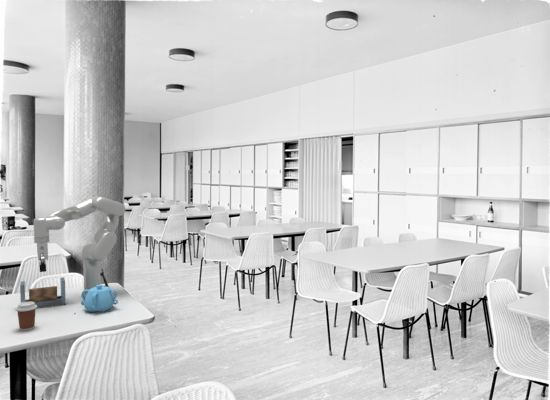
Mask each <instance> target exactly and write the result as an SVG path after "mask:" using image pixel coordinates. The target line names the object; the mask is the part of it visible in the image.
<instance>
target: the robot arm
mask: <svg viewBox="0 0 550 400" xmlns="http://www.w3.org/2000/svg"><path fill="white" fill-rule="evenodd" d="M97 211H98V212H103V213H105V214H104V215H105V219H104V221H103V223H102V224H101V225H100V227H99V228H98V229H97V231H96V232H95V234H94V235H93V241H94V242H95V243H96V244H95V243H87V244H85V245H84V246H83V247H82V249H81V258H82V266H83V268H82V269H83V291H84V290H90V289H91V288H93V287H96V285H102V284H101V282H102V281H101V276H100V273H101V261H103V260H105V259H106V258H107V256H108V255H109V254H110V252H111V250H112V249H113V248H114V246H115V245H116V242H117V236H118V235H117V234H116V230H117V228H118V226H119V223H120V222H119V221H120V219H119V217H121V216H124V214H125V213H126V207H125V205H124V204H123V203H121V201H116V200H113V199H110V198H107V197H105V196H104V197H103V196H98V195H97V196H92V197H89V198H87V199H86V200H83V201H81V202H79V203H76V204H74V205H71V206H69V207H66V208H63V209H61V210H58V211H56V212H54V213H52V214H50V215H48V216H46V217H36V218H34V219H33V240H34V242H33V243H34V244H36V249H37V250H36V253H37V261H39V262H38V263H39V265H38V266H39V267H38V268H39V272H40V273H44V272H47V264H46V261H49V246H48V243H50V231H51V230H52V231H59V230H63V228H64V227H65V226H66V223H67V222H69V221H73V220H74V221H75V220H76V221H77V220H80V219H83V218H85V217H87V216H89V215H91V214H93V213H96V212H97ZM87 293H88V292H84V297H85V298H86V295H87ZM80 295H81V296H80V297H82V293H81V294H80Z"/></svg>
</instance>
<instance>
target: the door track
mask: <svg viewBox="0 0 550 400" xmlns="http://www.w3.org/2000/svg"><path fill="white" fill-rule="evenodd" d="M59 280H60V281H59V282H60V295H57V299H52V300H44V301H35V302H34V303H35V305H37V308H36V310H37V309H43V308H51V307H52V306H53V307H59V306H66V305H67V303H66V279H65V277H60V279H59ZM19 287H20V291H19V292H20V303H23V302H29V298H28V299H26V282H25V280H23V281H20V284H19Z"/></svg>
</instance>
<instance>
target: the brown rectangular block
mask: <svg viewBox="0 0 550 400" xmlns="http://www.w3.org/2000/svg"><path fill="white" fill-rule="evenodd" d="M57 296H58V286H57V285H53V286H45V287H44V286H43V287H37V288H36V287H35V288H29V289H28V297H29V298H28V299H29V302H35V301H44V300H52V299H57Z"/></svg>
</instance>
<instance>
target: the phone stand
mask: <svg viewBox="0 0 550 400" xmlns="http://www.w3.org/2000/svg"><path fill="white" fill-rule="evenodd" d="M101 271H102V272H100V277H101V276H102V280H103V283H104V286H105V287H109V283H108V281H107V278H106V276H105V275H104V273H105V271H104V269H103V268H101ZM109 288H110V287H109Z"/></svg>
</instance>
